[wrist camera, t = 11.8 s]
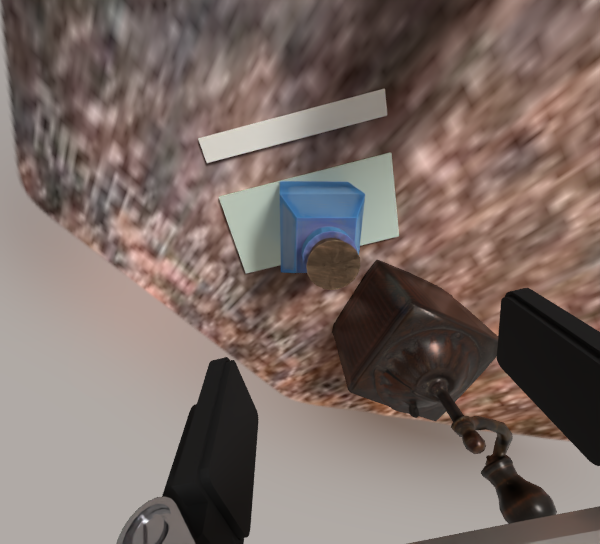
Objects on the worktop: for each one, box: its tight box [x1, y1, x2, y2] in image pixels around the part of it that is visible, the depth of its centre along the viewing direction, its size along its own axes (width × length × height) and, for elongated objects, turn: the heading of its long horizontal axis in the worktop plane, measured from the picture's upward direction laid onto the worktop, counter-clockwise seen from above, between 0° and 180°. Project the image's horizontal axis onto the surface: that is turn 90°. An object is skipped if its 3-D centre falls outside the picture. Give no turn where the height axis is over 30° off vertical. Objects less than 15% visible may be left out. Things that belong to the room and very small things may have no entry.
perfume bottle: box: [280, 181, 365, 290], centre depth 22 cm, size 6×6×12 cm
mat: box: [219, 152, 399, 273], centre depth 28 cm, size 8×16×1 cm, turn 103°
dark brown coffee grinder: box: [332, 260, 557, 524], centre depth 26 cm, size 16×11×18 cm
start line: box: [198, 89, 387, 163], centre depth 25 cm, size 2×16×1 cm, turn 104°
